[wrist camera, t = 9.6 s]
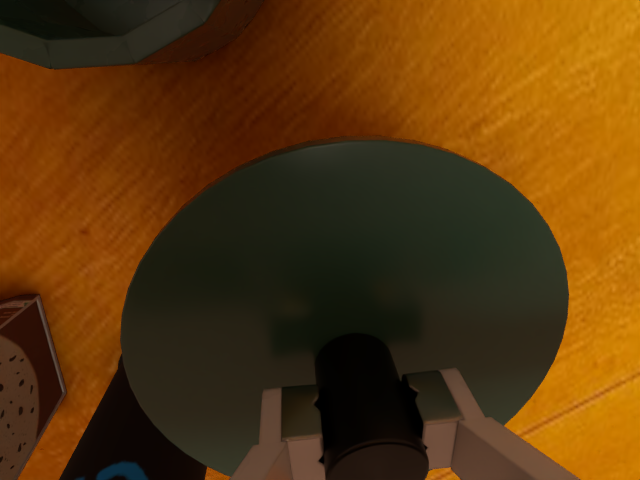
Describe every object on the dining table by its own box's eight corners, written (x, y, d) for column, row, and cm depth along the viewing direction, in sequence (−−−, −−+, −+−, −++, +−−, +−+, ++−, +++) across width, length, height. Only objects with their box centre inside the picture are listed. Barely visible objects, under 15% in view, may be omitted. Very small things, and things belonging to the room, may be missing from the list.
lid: (188, 480, 15) (151, 641, 11) (67, 151, 9) (-116, 233, 5) (507, 441, 16) (586, 579, 12) (593, 111, 10) (823, 152, 6)
